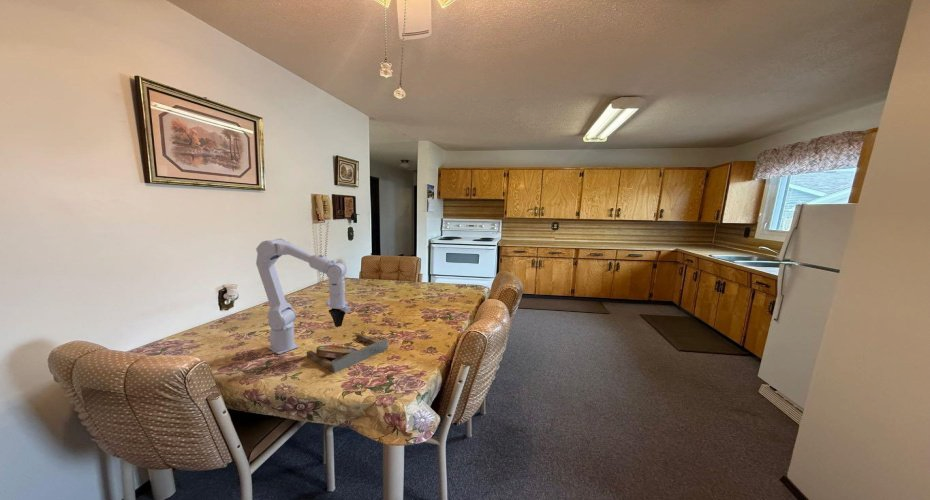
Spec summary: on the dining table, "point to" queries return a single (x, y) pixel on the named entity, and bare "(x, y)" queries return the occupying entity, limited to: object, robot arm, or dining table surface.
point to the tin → (333, 351)
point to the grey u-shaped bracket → (351, 354)
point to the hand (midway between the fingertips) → (338, 326)
